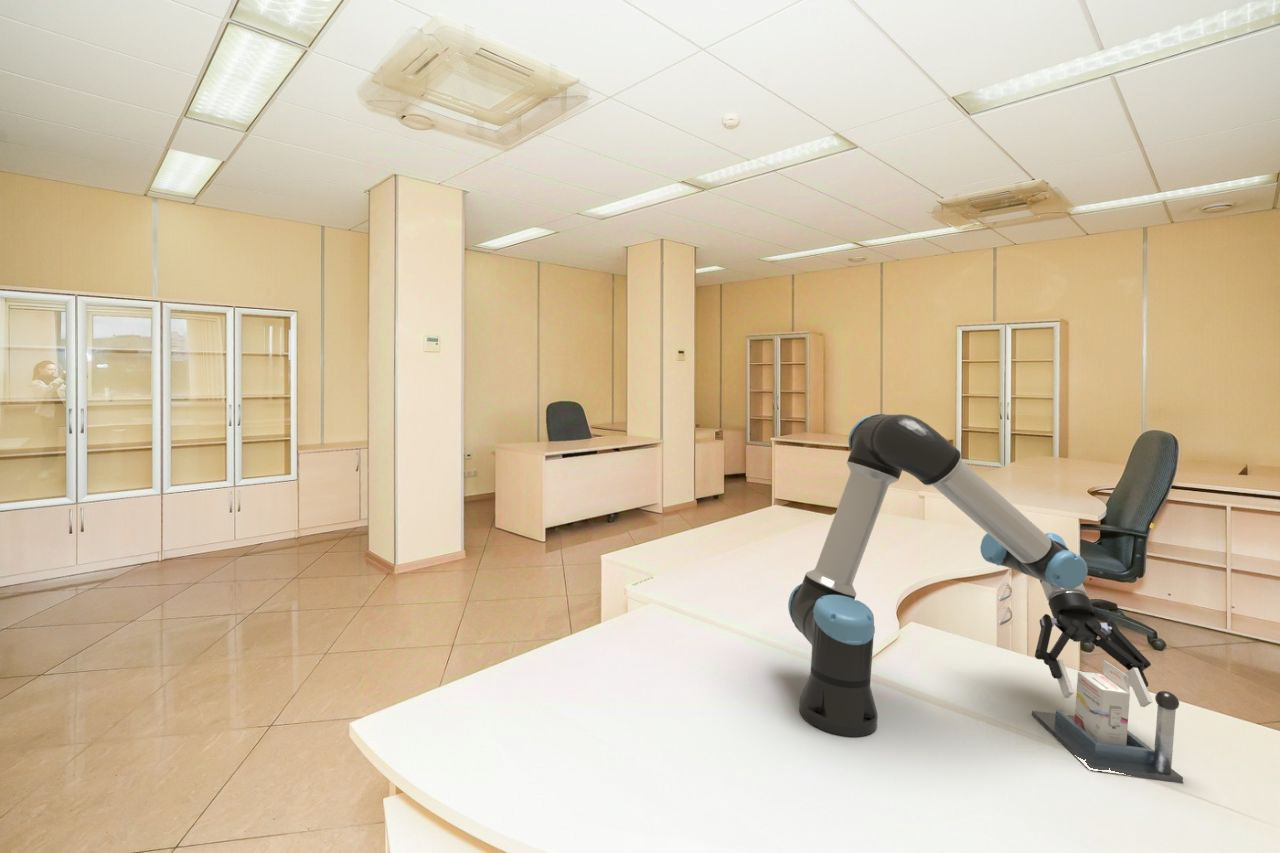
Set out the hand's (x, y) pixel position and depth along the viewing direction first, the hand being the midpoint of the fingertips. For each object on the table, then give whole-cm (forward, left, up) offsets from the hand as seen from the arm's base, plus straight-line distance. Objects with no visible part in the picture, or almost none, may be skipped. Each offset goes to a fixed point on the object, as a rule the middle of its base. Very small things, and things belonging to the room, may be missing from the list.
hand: (1107, 700), depth 112 cm
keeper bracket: (0, +1, -10) cm, 10 cm away
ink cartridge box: (0, +1, -9) cm, 9 cm away
